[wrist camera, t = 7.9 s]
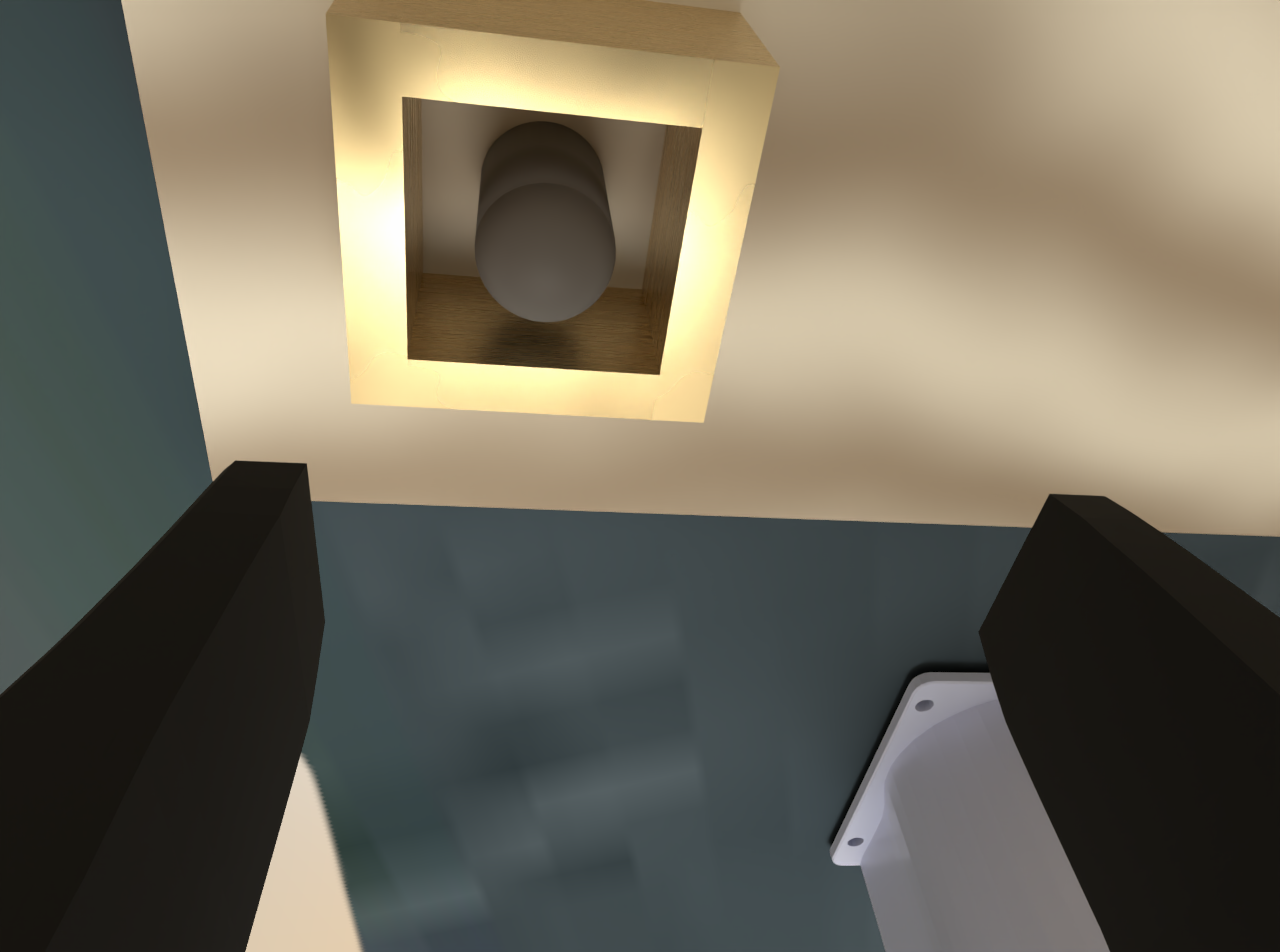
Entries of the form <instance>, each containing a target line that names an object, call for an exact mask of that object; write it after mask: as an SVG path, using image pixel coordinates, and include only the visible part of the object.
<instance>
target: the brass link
mask: <svg viewBox="0 0 1280 952" xmlns="http://www.w3.org/2000/svg"><path fill="white" fill-rule="evenodd" d="M325 15H326V30H327V45H328V60H329V75H330V90H331V105H332V120H333V135H334V150H335V165H336V180H337V196H338V211H339V226H340V241H341V256H342V271H343V286H344V301H345V316H346V331H347V346H348V361H349V377H350V392H351V404H368V405H386V406H404V407H423V408H441V409H460V410H478V411H496V412H515V413H533V414H551V415H570V416H588V417H607V418H625V419H643V420H662V421H680V422H698V423H704V418H705V414H706V409H707V405H708V400H709V395H710V391H711V386H712V381H713V377H714V372H715V367H716V363H717V358H718V354H719V349H720V344H721V340H722V335H723V330H724V326H725V321H726V316H727V312H728V307H729V302H730V298H731V293H732V289H733V284H734V279H735V275H736V270H737V265H738V261H739V256H740V251H741V247H742V242H743V238H744V233H745V228H746V224H747V219H748V214H749V210H750V205H751V200H752V196H753V191H754V186H755V182H756V177H757V173H758V168H759V163H760V159H761V154H762V149H763V145H764V140H765V135H766V131H767V126H768V122H769V117H770V112H771V108H772V103H773V98H774V94H775V89H776V84H777V80H778V75H779V71H780V66H779V65H778V63H777V62H776V61H775V59H774V58H773V57H772V55H771V54H770V52H769V51H768V50H767V48H766V47H765V46H764V44H763V43H762V42H761V40H760V39H759V37H758V36H757V35H756V33H755V32H754V31H753V29H752V28H751V26H750V25H749V24H748V22H747V21H746V20H745V18H744V17H743V15H742V14H741V13H740V12H732V11H725V10H717V9H709V8H701V7H693V6H685V5H677V4H669V3H661V2H653V1H645V0H334V1H333V3H332V4H331V6H330V8H329V9H328V11H327V12H326V14H325ZM421 99H431V100H440V101H450V102H459V103H469V104H478V105H488V106H497V107H507V108H516V109H525V110H535V111H544V112H554V113H563V114H573V115H582V116H592V117H601V118H611V119H620V120H630V121H639V122H649V123H658V124H667V125H666V131H665V138H664V145H663V151H662V158H661V165H660V171H659V178H658V185H657V191H656V198H655V205H654V211H653V218H652V225H651V232H650V238H649V245H648V252H647V258H646V265H645V272H644V278H643V285H642V289H629V288H616V287H607V288H606V289H605V291H604V292H603V293H602V295H601V296H600V298H599V299H598V300H597V301H596V302H595V303H594V304H593V305H592V306H590V307H589V308H588V309H587V310H585V311H583V312H582V313H580V314H578V315H576V316H574V317H572V318H569V319H566V320H562V321H557V322H537V321H532V320H528V319H525V318H522V317H519V316H517V315H515V314H513V313H511V312H510V311H508V310H507V309H505V308H504V307H503V306H501V305H500V304H499V303H498V302H497V301H496V300H495V299H494V298H493V297H492V295H491V294H490V293H489V292H488V290H487V289H486V287H485V286H484V283H483V281H482V279H481V277H472V276H459V275H446V274H433V273H423V216H422V102H421Z"/></svg>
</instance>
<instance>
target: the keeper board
mask: <svg viewBox="0 0 1280 952" xmlns="http://www.w3.org/2000/svg"><path fill="white" fill-rule="evenodd" d="M121 1H122V6H123V11H124V17H125V22H126V27H127V33H128V38H129V43H130V48H131V54H132V59H133V64H134V69H135V75H136V80H137V85H138V90H139V96H140V101H141V106H142V111H143V117H144V122H145V127H146V133H147V138H148V143H149V148H150V154H151V159H152V164H153V169H154V175H155V180H156V185H157V190H158V196H159V201H160V206H161V211H162V217H163V222H164V227H165V233H166V238H167V243H168V248H169V254H170V259H171V264H172V269H173V275H174V280H175V285H176V290H177V296H178V301H179V306H180V311H181V317H182V322H183V327H184V332H185V338H186V343H187V348H188V354H189V359H190V364H191V369H192V375H193V380H194V385H195V390H196V396H197V401H198V406H199V411H200V417H201V422H202V427H203V432H204V438H205V443H206V448H207V454H208V459H209V464H210V469H211V475H212V480H213V481H214V480H215V479H216V478H217V477H218V476H219V475H220V474H221V472H222V471H223V470H224V469H226V468H227V467H228V466H229V465H231V464H232V463H233V462H234V461H235V460H238V461H262V462H287V463H307V469H308V477H309V486H310V495H311V501H329V502H356V503H383V504H410V505H438V506H465V507H492V508H519V509H546V510H573V511H600V512H627V513H655V514H682V515H709V516H736V517H763V518H790V519H817V520H844V521H872V522H899V523H926V524H953V525H980V526H1007V527H1033V525H1034V523H1035V521H1036V519H1037V517H1038V515H1039V513H1040V511H1041V509H1042V507H1043V505H1044V503H1045V501H1046V499H1047V498H1048V496H1049V494H1069V495H1093V496H1106V497H1107V498H1109V499H1111V500H1112V501H1114V502H1116V503H1117V504H1119V505H1120V506H1122V507H1124V508H1125V509H1127V510H1129V511H1130V512H1132V513H1133V514H1135V515H1136V516H1138V517H1139V518H1141V519H1142V520H1144V521H1145V522H1147V523H1148V524H1150V525H1151V526H1153V527H1154V528H1156V529H1157V530H1159V531H1160V532H1170V533H1197V534H1224V535H1251V536H1279V537H1280V0H645V1H653V2H661V3H669V4H677V5H685V6H693V7H701V8H709V9H717V10H725V11H732V12H740V13H741V14H742V15H743V17H744V18H745V20H746V21H747V22H748V24H749V25H750V26H751V28H752V29H753V31H754V32H755V33H756V35H757V36H758V37H759V39H760V40H761V42H762V43H763V44H764V46H765V47H766V48H767V50H768V51H769V52H770V54H771V55H772V57H773V58H774V59H775V61H776V62H777V63H778V65H779V66H780V71H779V75H778V80H777V84H776V89H775V94H774V98H773V103H772V108H771V112H770V117H769V122H768V126H767V131H766V135H765V140H764V145H763V149H762V154H761V159H760V163H759V168H758V173H757V177H756V182H755V186H754V191H753V196H752V200H751V205H750V210H749V214H748V219H747V224H746V228H745V233H744V238H743V242H742V247H741V251H740V256H739V261H738V265H737V270H736V275H735V279H734V284H733V289H732V293H731V298H730V302H729V307H728V312H727V316H726V321H725V326H724V330H723V335H722V340H721V344H720V349H719V354H718V358H717V363H716V367H715V372H714V377H713V381H712V386H711V391H710V395H709V400H708V405H707V409H706V414H705V418H704V423H698V422H680V421H662V420H643V419H625V418H607V417H588V416H570V415H551V414H533V413H515V412H496V411H478V410H460V409H441V408H423V407H404V406H386V405H368V404H351V392H350V377H349V361H348V346H347V331H346V316H345V301H344V286H343V271H342V256H341V241H340V226H339V211H338V196H337V180H336V165H335V150H334V135H333V120H332V105H331V90H330V75H329V60H328V45H327V30H326V15H325V14H326V12H327V11H328V9H329V8H330V6H331V4H332V3H333V1H334V0H121ZM421 102H422V216H423V273H433V274H446V275H459V276H472V277H481V279H482V281H483V283H484V286H485V287H486V289H487V290H488V292H489V293H490V294H491V295H492V297H493V298H494V299H495V300H496V301H497V302H498V303H499V304H500V305H501V306H503V307H504V308H505V309H507V310H508V311H510V312H511V313H513V314H515V315H517V316H519V317H522V318H525V319H528V320H532V321H537V322H557V321H562V320H566V319H569V318H572V317H574V316H576V315H578V314H580V313H582V312H583V311H585V310H587V309H588V308H589V307H590V306H592V305H593V304H594V303H595V302H596V301H597V300H598V299H599V298H600V296H601V295H602V293H603V292H604V291H605V289H606V288H607V287H616V288H629V289H642V285H643V278H644V272H645V265H646V258H647V252H648V245H649V238H650V232H651V225H652V218H653V211H654V205H655V198H656V191H657V185H658V178H659V171H660V165H661V158H662V151H663V145H664V138H665V131H666V125H667V124H658V123H649V122H639V121H630V120H620V119H611V118H601V117H592V116H582V115H573V114H563V113H554V112H544V111H535V110H525V109H516V108H507V107H497V106H488V105H478V104H469V103H459V102H450V101H440V100H431V99H421Z"/></svg>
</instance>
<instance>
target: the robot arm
mask: <svg viewBox="0 0 1280 952" xmlns="http://www.w3.org/2000/svg"><path fill="white" fill-rule="evenodd" d="M324 624H325V618H324V609H323V600H322V591H321V583H320V574H319V565H318V556H317V548H316V539H315V530H314V521H313V513H312V504H311V495H310V486H309V477H308V469H307V463H287V462H262V461H238V460H235V461H234V462H233V463H232V464H231V465H229V466H228V467H227V468H226V469H224V470H223V471H222V472H221V474H220V475H219V476H218V477H217V478H216V479H215V480H214V481H213V482H212V483H211V484H210V485H209V487H208V488H207V489H206V490H205V491H204V492H203V493H202V494H201V495H200V496H199V497H198V499H197V500H196V501H195V502H194V503H193V504H192V505H191V506H190V507H189V508H188V509H187V511H186V512H185V513H184V514H183V515H182V516H181V517H180V518H179V519H178V520H177V521H176V522H175V524H174V525H173V526H172V527H171V528H170V529H169V530H168V531H167V532H166V533H165V534H164V535H163V536H162V537H161V538H160V539H159V541H158V542H157V543H156V544H155V545H154V546H153V547H152V548H151V549H150V550H149V551H148V552H147V553H146V554H145V555H144V556H143V557H142V558H141V559H140V561H139V562H138V563H137V564H136V565H135V566H134V567H133V568H132V569H131V570H130V571H129V572H128V573H127V574H126V575H125V576H124V577H123V578H122V579H121V580H120V581H119V582H118V583H117V584H116V585H115V586H114V587H113V588H112V589H111V590H110V591H109V592H108V593H107V594H106V595H105V596H104V597H103V598H102V599H101V600H100V601H99V602H98V603H97V604H96V605H95V606H94V607H93V608H92V609H91V610H90V611H89V612H88V613H87V614H86V615H85V616H84V617H83V618H82V619H81V620H80V621H79V622H78V623H77V624H76V625H75V626H74V627H73V628H72V629H71V630H70V631H69V632H68V633H67V634H66V635H65V636H64V637H63V638H62V639H61V640H60V641H58V642H57V643H56V644H55V645H54V646H53V647H52V648H51V649H50V650H49V651H48V652H47V653H46V654H45V655H44V656H42V657H41V658H40V659H39V660H38V661H37V662H36V663H35V664H34V665H33V666H31V667H30V668H29V669H28V670H27V671H26V672H25V673H24V674H23V675H22V676H20V677H19V678H18V679H17V680H16V681H15V682H14V683H13V684H12V685H11V686H9V687H8V688H7V689H6V690H5V691H4V692H3V693H2V694H1V695H0V952H245V950H246V947H247V943H248V940H249V936H250V933H251V929H252V926H253V922H254V918H255V914H256V911H257V908H258V904H259V901H260V897H261V894H262V890H263V887H264V883H265V879H266V876H267V872H268V869H269V865H270V862H271V858H272V854H273V851H274V847H275V844H276V840H277V837H278V833H279V830H280V826H281V823H282V819H283V815H284V812H285V808H286V805H287V801H288V797H289V794H290V790H291V787H292V783H293V780H294V776H295V772H296V769H297V765H298V761H299V758H300V754H301V751H302V747H303V743H304V740H305V736H306V732H307V728H308V725H309V721H310V715H311V709H312V702H313V696H314V690H315V684H316V678H317V671H318V665H319V658H320V651H321V644H322V638H323V631H324ZM979 635H980V639H981V642H982V646H983V649H984V653H985V657H986V660H987V664H988V667H989V671H990V673H967V672H928V673H923V674H920V675H918V676H916V677H915V678H913V679H912V681H911V682H910V683H909V685H908V687H907V689H906V691H905V693H904V695H903V698H902V700H901V702H900V704H899V706H898V708H897V710H896V712H895V714H894V716H893V718H892V721H891V723H890V725H889V727H888V729H887V731H886V733H885V735H884V737H883V739H882V741H881V744H880V746H879V748H878V750H877V752H876V754H875V756H874V758H873V760H872V762H871V764H870V767H869V769H868V771H867V773H866V775H865V777H864V779H863V781H862V783H861V785H860V787H859V790H858V792H857V794H856V796H855V798H854V800H853V802H852V804H851V806H850V808H849V810H848V812H847V815H846V817H845V819H844V821H843V823H842V825H841V827H840V829H839V831H838V833H837V835H836V838H835V840H834V842H833V844H832V846H831V848H830V855H831V858H832V861H833V862H834V863H835V864H837V865H843V866H848V865H861V869H862V872H863V876H864V879H865V882H866V886H867V889H868V893H869V896H870V900H871V903H872V906H873V910H874V913H875V917H876V920H877V923H878V927H879V930H880V934H881V937H882V941H883V944H884V947H885V951H886V952H1280V617H1278V616H1277V615H1275V614H1274V613H1273V612H1271V611H1270V610H1268V609H1267V608H1266V607H1264V606H1263V605H1262V604H1260V603H1259V602H1257V601H1256V600H1255V599H1253V598H1252V597H1251V596H1249V595H1248V594H1246V593H1245V592H1244V591H1242V590H1241V589H1239V588H1238V587H1237V586H1235V585H1234V584H1233V583H1231V582H1230V581H1228V580H1227V579H1226V578H1224V577H1223V576H1222V575H1220V574H1219V573H1217V572H1216V571H1215V570H1213V569H1212V568H1211V567H1209V566H1208V565H1206V564H1205V563H1204V562H1202V561H1201V560H1199V559H1198V558H1197V557H1195V556H1194V555H1193V554H1191V553H1190V552H1188V551H1187V550H1186V549H1184V548H1183V547H1181V546H1180V545H1178V544H1177V543H1176V542H1174V541H1173V540H1171V539H1170V538H1168V537H1167V536H1166V535H1164V534H1163V533H1161V532H1160V531H1159V530H1157V529H1156V528H1154V527H1153V526H1151V525H1150V524H1148V523H1147V522H1145V521H1144V520H1142V519H1141V518H1139V517H1138V516H1136V515H1135V514H1133V513H1132V512H1130V511H1129V510H1127V509H1125V508H1124V507H1122V506H1120V505H1119V504H1117V503H1116V502H1114V501H1112V500H1111V499H1109V498H1107V497H1106V496H1093V495H1069V494H1049V496H1048V498H1047V499H1046V501H1045V503H1044V505H1043V507H1042V509H1041V511H1040V513H1039V515H1038V517H1037V519H1036V521H1035V523H1034V525H1033V527H1032V529H1031V531H1030V533H1029V535H1028V537H1027V539H1026V540H1025V542H1024V544H1023V546H1022V548H1021V550H1020V552H1019V554H1018V556H1017V558H1016V560H1015V562H1014V564H1013V566H1012V568H1011V570H1010V572H1009V574H1008V576H1007V578H1006V580H1005V581H1004V583H1003V585H1002V587H1001V589H1000V591H999V593H998V595H997V597H996V599H995V601H994V603H993V605H992V607H991V609H990V611H989V613H988V615H987V617H986V619H985V621H984V622H983V624H982V626H981V628H980V630H979Z"/></svg>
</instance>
